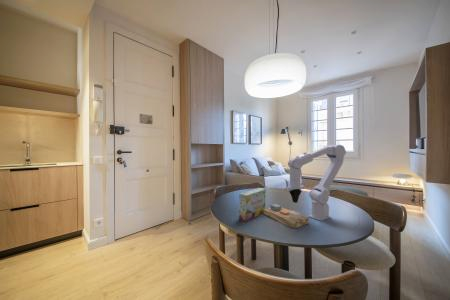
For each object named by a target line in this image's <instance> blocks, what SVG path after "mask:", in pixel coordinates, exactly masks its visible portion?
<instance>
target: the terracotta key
mask: <svg viewBox="0 0 450 300" xmlns="http://www.w3.org/2000/svg"><path fill="white" fill-rule="evenodd" d="M285 209H286V208H284V210H281V211H279V213H280V214H283V215H285V216H286V215H289V212H290V211H287V210H288V209H287V210H285Z"/></svg>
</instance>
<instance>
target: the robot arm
mask: <svg viewBox="0 0 450 300" xmlns="http://www.w3.org/2000/svg"><path fill="white" fill-rule="evenodd" d="M346 154H347V151H346V148H345V147H344V145H341V144H327V145H326V146H325V145H324V146H323V147H321V148H319V149H317V150H314V151H313V152H303V153H302V154H300V155H296V156H295V157H292V158H290V159H289V160H288V161H287V165H288V167H289V185H288V186H286V187H284V191H285V192H287V193H288V192H289V194H290V197H291V200H292V203H295V204H297V203H298V201H299V198H300V195H301V193H302V192H303V191H302V190H303V189H306V188H305V185H304V184H301V168H303V166H305V165H307V164H310V163H311V162H313V161H314V159H316V158H318V157H321V156H325V155H326V156H327V157H328V159H329V160H330V164H329V166H328V167H327V169H326V171H325V173H323V176H322V178H321V179H320V181H319V183H318V184H317V185H315V186H314V187H313V188H312V189H311V190H309V195H308V196H309V198H310V199H311V214H308V216H307V217H308V218H312V219H315V220H318V221H321V222H322V221H325V220H327V219H330V218H331V216H330V214H329V213H330V206H329V203H328V202H329V199H330V198H329V196H330V195H331V192H330V190H329V189H330V187H331V185H332V183H333V181H334V180H335V178H336V176H337V175H338V173H339V171H340V169H341V167H342V165H343V163H344V158H345V156H346Z"/></svg>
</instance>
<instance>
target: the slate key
mask: <svg viewBox="0 0 450 300" xmlns="http://www.w3.org/2000/svg"><path fill="white" fill-rule="evenodd" d="M281 207H282V205H280V204H277V203H274V204H270V208H271V210H273V211H275V212H277V211H281Z"/></svg>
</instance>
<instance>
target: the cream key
mask: <svg viewBox="0 0 450 300" xmlns="http://www.w3.org/2000/svg"><path fill="white" fill-rule="evenodd" d="M301 215H302V212H299V211H297V210H292V212H289V217H290V218H292V219H294V220H298V219H301Z"/></svg>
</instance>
